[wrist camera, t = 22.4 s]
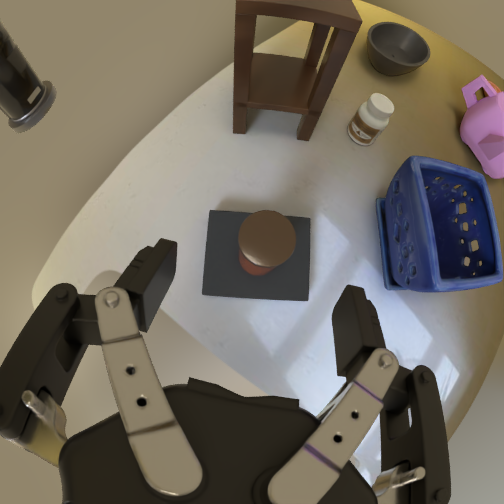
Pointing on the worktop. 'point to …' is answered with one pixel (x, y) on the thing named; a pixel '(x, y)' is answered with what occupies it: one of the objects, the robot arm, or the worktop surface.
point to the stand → (291, 60)
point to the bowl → (396, 48)
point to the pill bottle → (370, 119)
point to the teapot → (485, 126)
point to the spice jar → (265, 242)
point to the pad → (243, 283)
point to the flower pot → (437, 229)
